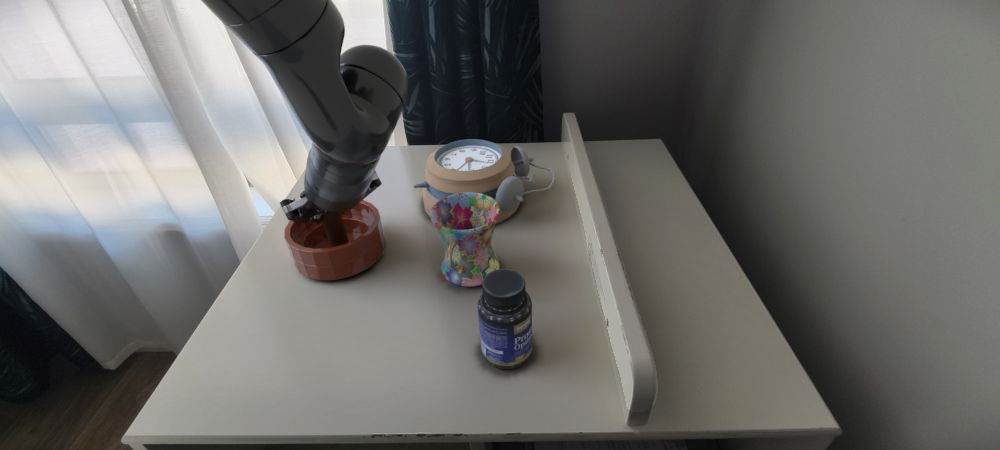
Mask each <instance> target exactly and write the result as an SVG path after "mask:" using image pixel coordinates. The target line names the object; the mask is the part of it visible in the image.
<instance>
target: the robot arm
mask: <svg viewBox="0 0 1000 450" xmlns="http://www.w3.org/2000/svg"><path fill="white" fill-rule="evenodd" d="M200 1H201V2H202V3H203V5H205V6H206V7H207V9H209V10H210V12H211V13H212V14H214V16H215V17H216V18H217V19H218V20H219V22H221V23H222V24H223V25H224V26H225V27H226V28H227V29H228V30H229V31H230V32H231V33H232V34H233V35H234V36H235V37H236V38H237V39H238V40H239V41H240V42H241V43H242V44H243V45H244V46H245V47H246V48H247V49H248V50H249V51H251V53H252V54H253V55H254V56H255V57H256V58H257V59H258V60H259V61H261V63H262V64H263V65H264V66H265V68H266V70H267V71H268V73H269V75H270V76H271V78H272V80H273V81H274V84H275V85H276V87H277V88H278V90H279V92H280V93H281V95H282V97H283V98H284V99H285V102H286V103H287V105H288V107H289V108H290V110H291V112H292V113H293V115H294V117H295V119H296V121H297V122H298V124H299V126H300V127H301V128H302V130H303V131H304V133H305V135H306V136H307V137H308V138H309V140H310V141H311V146H310V149H309V152H308V154H307V157H306V158H307V159H306V164H305V171H304V178H303V179H304V180H303V188H304V189H303V191H302V192H300V195H299V198H298V199H296V198H292V199H289V198H284V199H282V200H281V201H280V202H279V205H280V207H281V208H282V212H283V213H284V215H285V216H286V217H285V218H286V219H287V220H288V221H295V222H299V223H307V222H309V221H310V220H311V222H312V223H313V222H316V224H319V223H321V222H322V219H323V216H324V215H326V214H328V213H329V212H330V211H332V212H341V214H344V211H347V210H350V209H352V208H354V207H355V206H357V205H358V204H359V203H360V202H361V201H362V200H364V199H366V198H367V197H368V196H369V195H371V194H372V193H373V192H374V191H375V190H376V189H378V188H379V187H381V185H383V182H382V181H381V179H380V177H379V175H378V173H377V171H376V168H377V166H378V164H379V163H380V159H381V157H382V155H383V153H384V152H385V150H386V149H387V146H388V145H389V142H390V140H391V138H392V136H393V133H394V131H395V129H396V126H397V125H398V122H399V120H400V119H401V116H402V114H403V112H404V110H405V107H406V105H407V103H408V100H409V99H410V95H411V94H410V93H411V83H410V79H409V75H408V73H407V70H406V68H405V67H404V65H403V64H402V62H401V60H400V59H399V58H398V57H397V56H395V54H393V53H392V52H391V51H389V50H387V49H385V48H383V47H381V46H377V45H373V44H359V45H358V44H357V45H354V46H352V47H350V48H347V49H346V50H345V51H343V52H342V50H343V45H344V40H345V36H346V35H345V34H346V28H345V22H344V18H343V16H342V14H341V12H340V10H339V8H338V7H337V6H336V4H335V2H333V0H200Z"/></svg>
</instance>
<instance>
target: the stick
mask: <svg viewBox="0 0 1000 450" xmlns="http://www.w3.org/2000/svg"><path fill="white" fill-rule="evenodd" d="M322 221H323V225H324V228H325V231H326V234H327V237H328V241H329V244H330V247H335V246H339V245H344V244H346V243H348V242H349V240H348V236H347V233H346V229H345V225H344V222H343V218H342V215H341V212H332V211H330V212H329V213H328V214H326V215H324V216H323V219H322Z"/></svg>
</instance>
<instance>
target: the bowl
mask: <svg viewBox="0 0 1000 450" xmlns="http://www.w3.org/2000/svg"><path fill="white" fill-rule="evenodd" d="M341 215H342V218H343V222H344V225H345V229H346V233H347V236H348V240H349V242H348V243H346V244H344V245H339V246H335V247H330V244H329V241H328V237H327V234H326V231H325V228H324V225H323V221H322V222H321V223H319V224H316V222H313V223H312V222H311V220H310V221H309V222H307V223H299V222H295V221H290V220H288V223H287V225H286V226H285V228H284V234H283V235H284V241H285V244H286V246H287V249H288V251H289V254H290V257H291V260H292V262H293V265H294V267H295V269H296V270H297V272H298V273H299V274H301V275H302V276H305V277H306V278H308V279H312V280H317V281H337V280H342V279H345V278H349V277H354V276H355V275H357V274H360V273H362V272H364V271H366V270H368V269H369V268H370V267H371V266H374V265H375V264H376V263H377V262H378V261H379V260H380V259H381V257H382V256H383V254H384V253H385V249H386V246H387V241H386V236H385V232H384V228H383V223H382V219H381V214H380V211H379V209H378V208H377V207H376V206H375V205H374V204H373V203H372V202H369V201H367V200H364V199H363V200H362V201H361V202H360V203H359V204H358V205H357V206H355V207H354V208H352V209H350V210H347V211H344V214H341Z"/></svg>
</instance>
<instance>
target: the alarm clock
mask: <svg viewBox="0 0 1000 450" xmlns="http://www.w3.org/2000/svg"><path fill="white" fill-rule="evenodd" d="M533 161H534V157H532V156H531V157H529V156H528V154H527V151H526V150H525V149H524V148H523V147H522V146H519V145H515V146H512V147H511V150H510V151H509V150H508V149H506V148H505V147H504V146H502V145H501V144H498V143H496V142H493V141H490V140H485V139H478V138H474V139H473V138H472V139H471V138H470V139H469V138H468V139H459V140H455V141H452V142H449V143H447V144H444V145H442V146H440V147H439V148H437V149H435V150H434V151H432V152H431V153H430V154H429V156H428V157H427V159H426V162H425V164H426V167H425V170H424V172H423V173H424V174H423V175H424V180H425V181H423V182H420V183H416V184H414V185H413V189H422V200H423V201H422V202H423V207H424V212H425V213H426V214H427V215H428V217H429V218H430V219H431V217H430V213H431V209H432V208H433V206H434V205H435V204H436V203H437V202H438V201H440V200H441V199H443V198H445V197H447V196H450V195H453V194H458V193H465V192H473V193H480V194H484V195H487V196H489V197H491V198H493V199H494V200H495V201H496V202H497V203H498V205H499V207H500V214H499V217H498V219H497V221H496V223H495V225H496V224H500V223H501V222H504V221H506V220H507V219H508V218H510V217H511V216H512V215H513V214H514V213H515V212H517V210H518V208H519V206H520V204H521V203H523V202H524V198H523V197H524V196H526V195H529V194H532V193H533V194H534V193H544V192H547V191H549V190H550V189H552V188H553V186H554V184H555V182H556V173H555V171H554V170H553V169H552V168H550V167H548V166H544V165H543V166H542V165H537V164H535V163H533ZM530 165H531V166H532V167H534V168H537V169H541V170H545V171H548V172H550V173H551V174H552V181H551V183H550V185H549V186H547V187H545V188H541V189H531V190H527V191H525V186H524V183H523V182H522V180H523V181H524V180H528V183H529V184H533V182H534V177H535V174H534V173H531V174H530V170H531V166H530ZM529 174H530V176H529Z"/></svg>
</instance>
